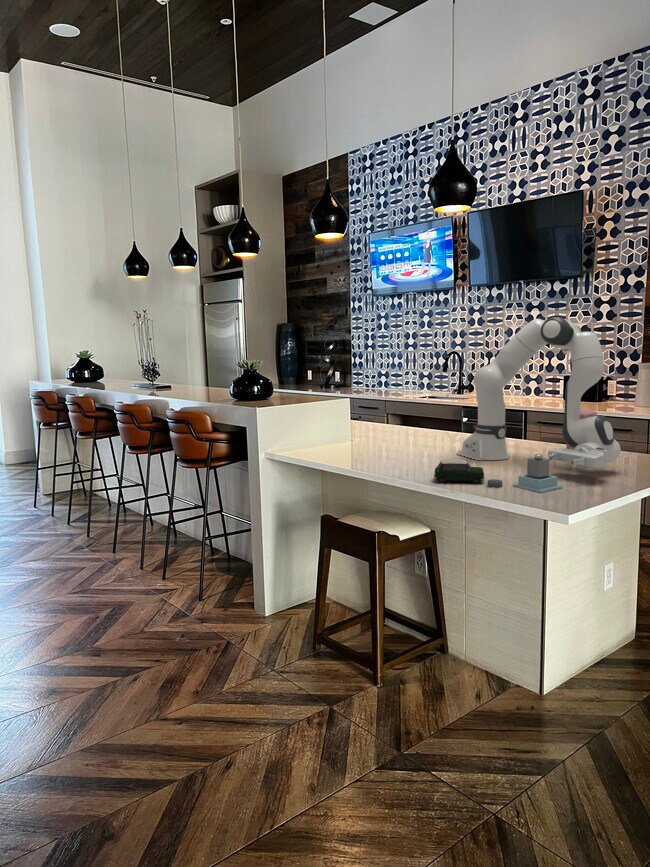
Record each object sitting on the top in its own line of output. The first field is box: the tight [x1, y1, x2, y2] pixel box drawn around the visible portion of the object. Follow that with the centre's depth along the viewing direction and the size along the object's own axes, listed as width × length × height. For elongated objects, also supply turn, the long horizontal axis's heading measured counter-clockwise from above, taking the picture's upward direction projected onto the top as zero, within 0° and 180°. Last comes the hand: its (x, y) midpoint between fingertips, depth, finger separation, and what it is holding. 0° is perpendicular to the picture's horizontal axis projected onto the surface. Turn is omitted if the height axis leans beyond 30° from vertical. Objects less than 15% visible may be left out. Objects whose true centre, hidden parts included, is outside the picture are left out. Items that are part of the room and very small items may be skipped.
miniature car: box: [433, 458, 486, 485], centre depth 234 cm, size 9×18×8 cm, turn 80°
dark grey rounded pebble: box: [487, 478, 503, 489], centre depth 226 cm, size 5×5×2 cm
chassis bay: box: [512, 473, 564, 494], centre depth 223 cm, size 12×11×4 cm
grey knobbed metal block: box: [526, 453, 550, 480], centre depth 223 cm, size 5×5×10 cm
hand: (561, 460), depth 229 cm, fingers open, 8 cm apart
